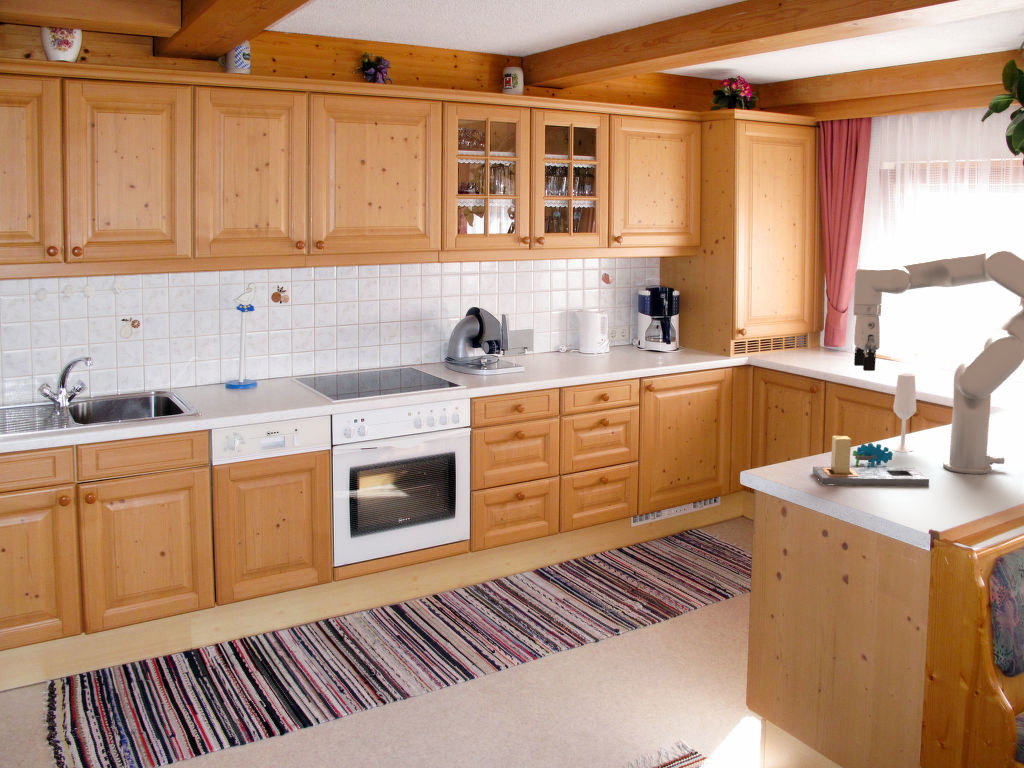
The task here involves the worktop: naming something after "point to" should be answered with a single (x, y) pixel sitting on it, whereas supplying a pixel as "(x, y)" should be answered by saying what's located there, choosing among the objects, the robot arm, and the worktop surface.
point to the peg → (840, 455)
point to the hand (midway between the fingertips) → (864, 368)
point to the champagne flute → (904, 405)
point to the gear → (872, 454)
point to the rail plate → (873, 476)
